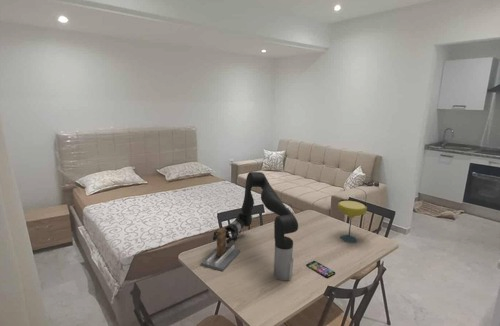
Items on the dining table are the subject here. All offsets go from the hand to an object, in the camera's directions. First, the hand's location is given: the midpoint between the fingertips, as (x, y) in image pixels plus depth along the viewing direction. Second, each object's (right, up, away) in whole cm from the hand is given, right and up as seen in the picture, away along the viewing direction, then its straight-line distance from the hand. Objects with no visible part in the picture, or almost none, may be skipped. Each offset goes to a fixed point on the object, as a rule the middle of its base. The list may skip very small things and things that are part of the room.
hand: (220, 240), depth 159 cm
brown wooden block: (0, -10, +3) cm, 10 cm away
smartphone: (+55, -15, -5) cm, 58 cm away
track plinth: (0, -11, +4) cm, 12 cm away
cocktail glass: (+83, -7, +30) cm, 89 cm away
